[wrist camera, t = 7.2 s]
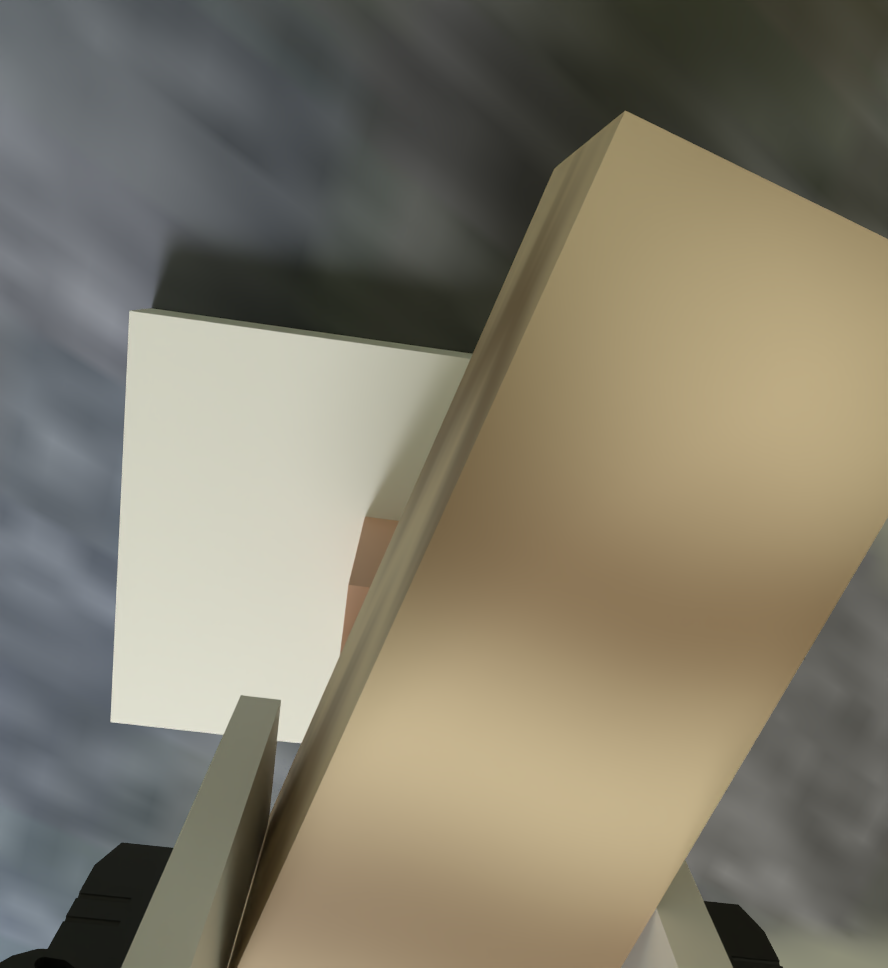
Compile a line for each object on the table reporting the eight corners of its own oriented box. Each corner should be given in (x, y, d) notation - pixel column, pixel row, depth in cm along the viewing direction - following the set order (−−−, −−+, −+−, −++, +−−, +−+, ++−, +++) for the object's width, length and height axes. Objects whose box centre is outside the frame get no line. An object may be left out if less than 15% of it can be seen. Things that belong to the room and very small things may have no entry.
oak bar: (343, 1176, 19) (314, 1485, 14) (137, 1114, 18) (34, 1414, 14) (814, 291, 14) (1015, 301, 9) (554, 168, 14) (624, 110, 9)
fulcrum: (151, 308, 27) (38, 321, 19) (744, 392, 28) (868, 437, 20) (130, 693, 30) (28, 839, 22) (660, 753, 31) (738, 911, 23)
